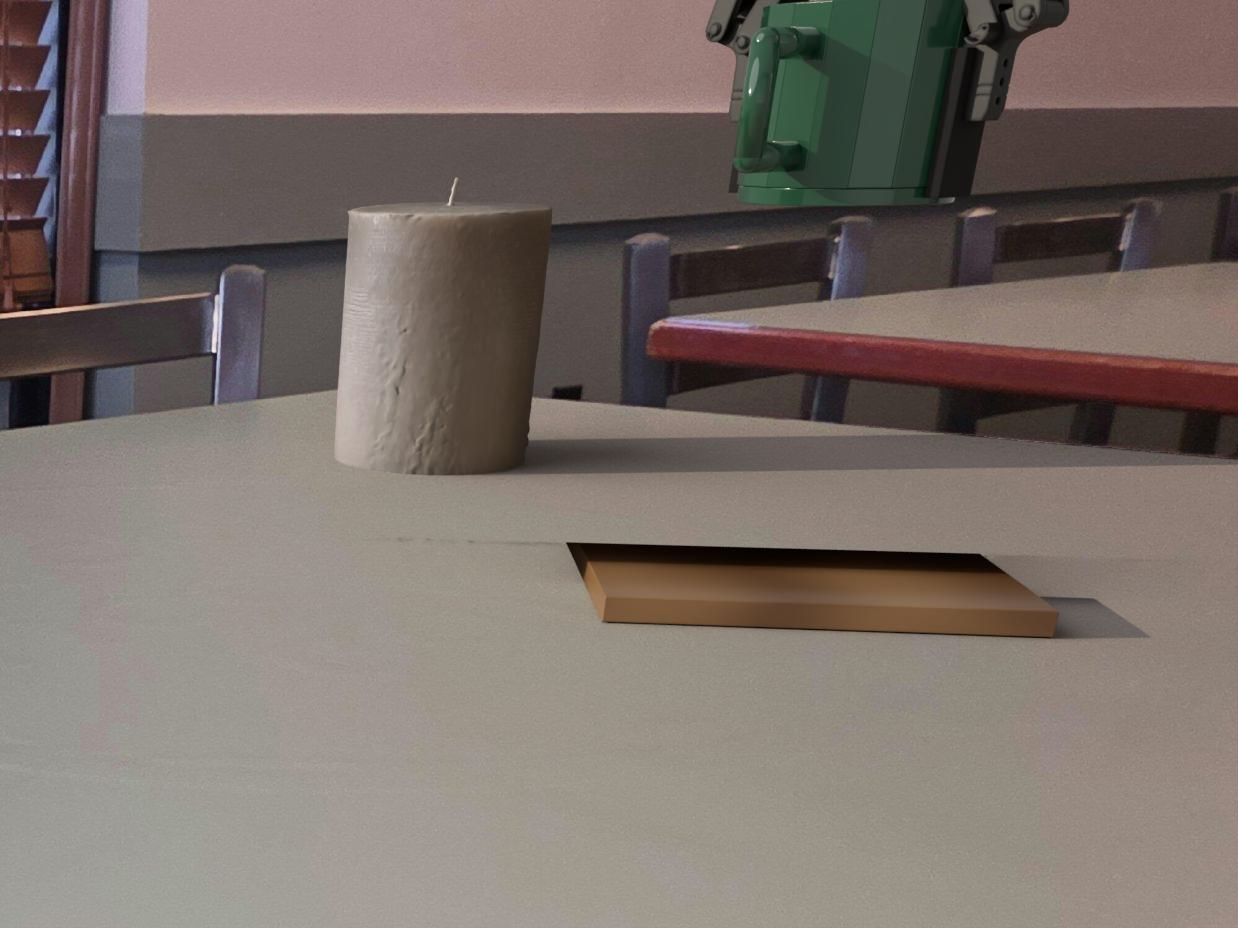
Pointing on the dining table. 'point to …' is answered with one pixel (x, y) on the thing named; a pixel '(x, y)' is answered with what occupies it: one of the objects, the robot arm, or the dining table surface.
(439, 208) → the pillar candle
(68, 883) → the dining table surface
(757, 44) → the mug
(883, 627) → the trivet
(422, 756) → the dining table surface
